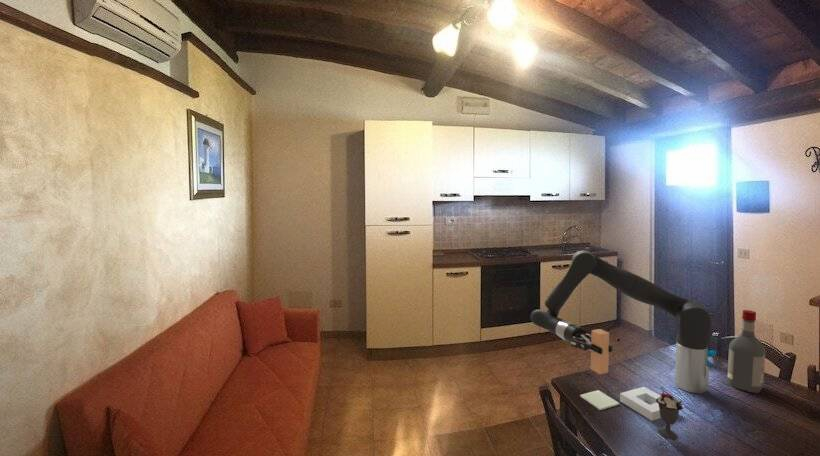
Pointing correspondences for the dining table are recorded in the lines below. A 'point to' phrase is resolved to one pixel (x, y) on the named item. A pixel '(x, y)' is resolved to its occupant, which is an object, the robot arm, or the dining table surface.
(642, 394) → the socket block
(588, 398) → the pad
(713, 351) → the gear
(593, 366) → the peg
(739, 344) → the liquor
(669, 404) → the sundae
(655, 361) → the dining table surface
